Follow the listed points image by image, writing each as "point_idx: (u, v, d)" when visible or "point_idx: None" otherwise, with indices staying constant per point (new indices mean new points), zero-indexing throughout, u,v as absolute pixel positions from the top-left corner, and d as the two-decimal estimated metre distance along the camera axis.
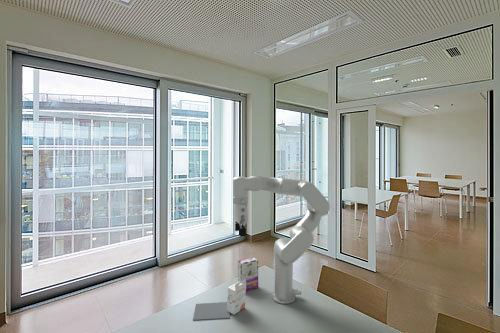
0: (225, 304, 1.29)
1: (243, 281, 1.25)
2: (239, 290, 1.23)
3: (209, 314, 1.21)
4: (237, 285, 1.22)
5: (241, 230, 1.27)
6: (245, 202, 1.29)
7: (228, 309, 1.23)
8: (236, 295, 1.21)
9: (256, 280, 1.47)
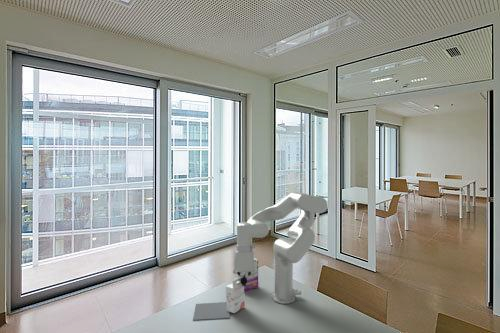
0: (225, 304, 1.29)
1: (240, 279, 1.27)
2: (237, 288, 1.24)
3: (209, 314, 1.21)
4: (234, 282, 1.23)
5: (246, 279, 1.25)
6: None
7: (228, 308, 1.23)
8: (234, 292, 1.22)
9: (256, 280, 1.47)
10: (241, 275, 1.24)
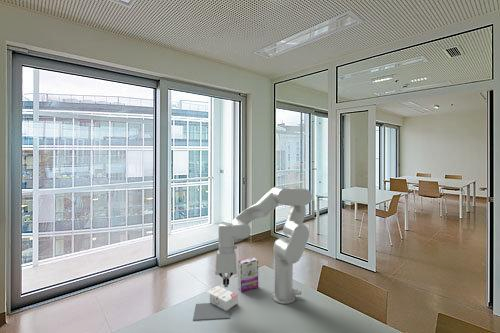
0: None
1: (215, 287, 1.37)
2: (215, 291, 1.33)
3: (209, 314, 1.21)
4: (209, 291, 1.33)
5: (228, 280, 1.24)
6: None
7: (224, 307, 1.25)
8: (214, 294, 1.30)
9: (256, 280, 1.47)
10: (223, 276, 1.23)
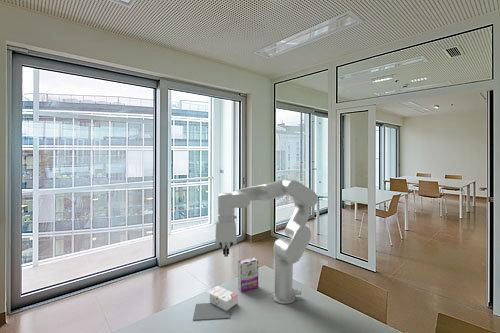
0: None
1: (215, 287, 1.37)
2: (215, 291, 1.33)
3: (209, 314, 1.21)
4: (209, 291, 1.33)
5: (228, 250, 1.24)
6: None
7: (224, 307, 1.25)
8: (214, 294, 1.30)
9: (256, 280, 1.47)
10: (223, 245, 1.23)
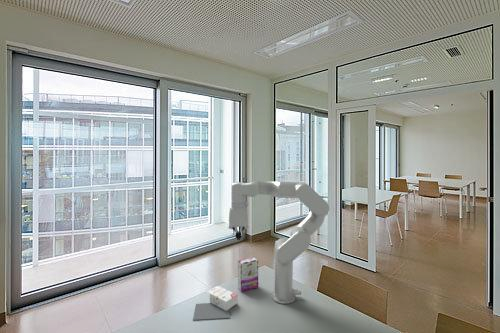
0: None
1: (215, 287, 1.37)
2: (215, 291, 1.33)
3: (209, 314, 1.21)
4: (209, 291, 1.33)
5: (240, 234, 1.37)
6: None
7: (224, 307, 1.25)
8: (214, 294, 1.30)
9: (256, 280, 1.47)
10: (236, 230, 1.36)
